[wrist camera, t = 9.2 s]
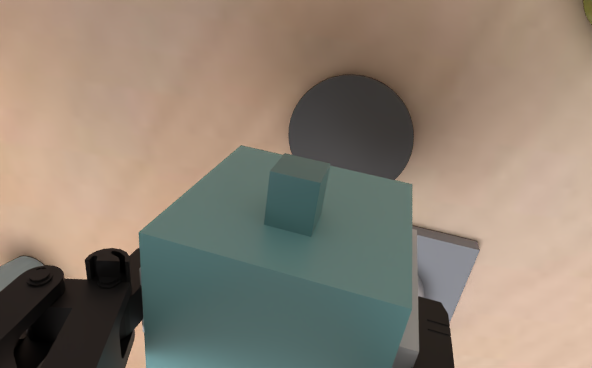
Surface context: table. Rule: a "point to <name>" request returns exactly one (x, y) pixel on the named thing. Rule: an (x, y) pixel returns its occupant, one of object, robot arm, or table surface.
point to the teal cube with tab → (278, 268)
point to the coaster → (353, 126)
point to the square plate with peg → (443, 266)
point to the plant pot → (588, 9)
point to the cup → (16, 269)
